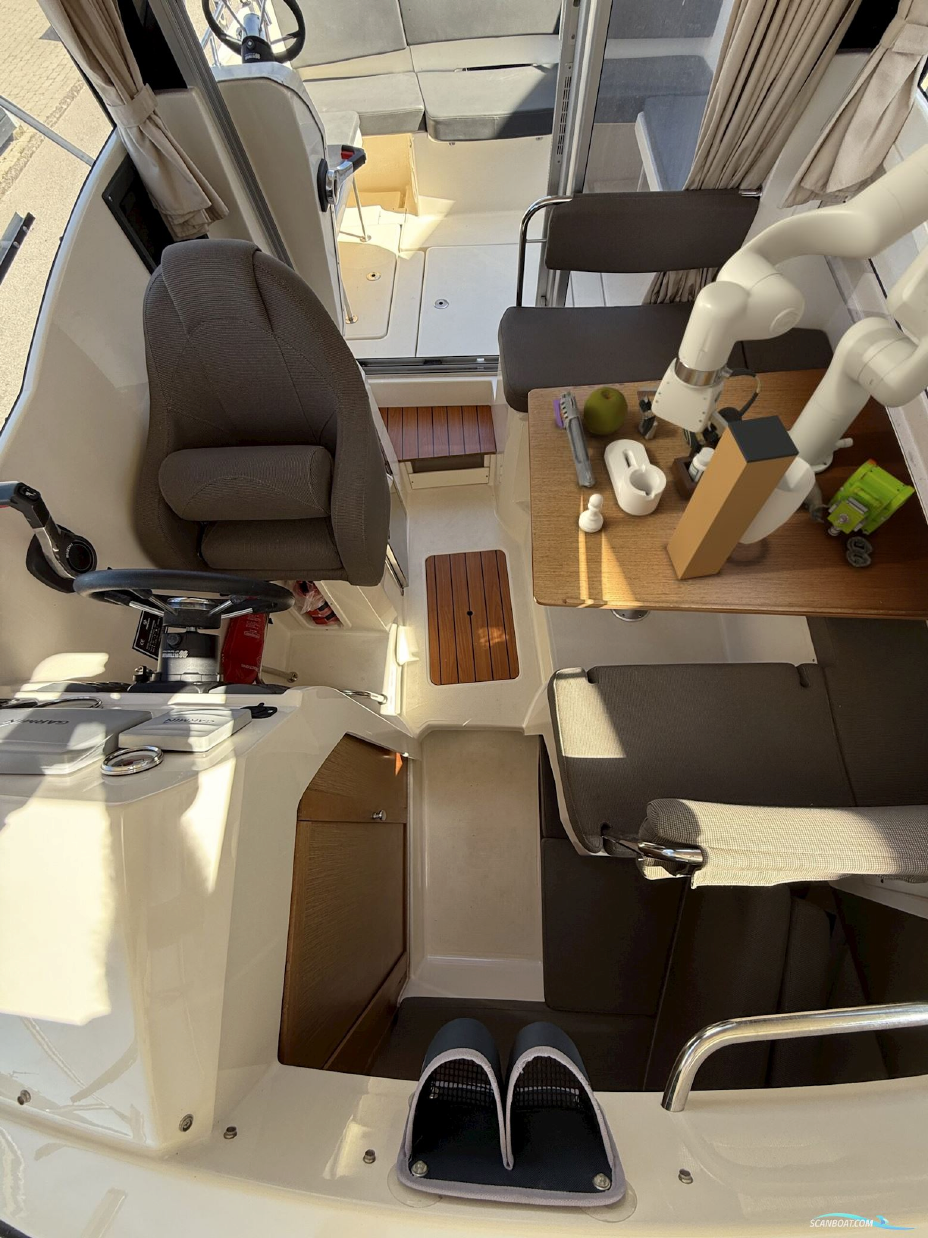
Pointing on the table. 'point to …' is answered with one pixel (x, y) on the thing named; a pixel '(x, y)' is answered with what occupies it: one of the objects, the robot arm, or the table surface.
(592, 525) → the chess pawn
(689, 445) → the headphones
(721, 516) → the black-topped square pillar
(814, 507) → the rhino figurine
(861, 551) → the corroded twin loop
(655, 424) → the grey angled piece
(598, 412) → the apple
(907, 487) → the lime green boxy piece
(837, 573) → the table surface
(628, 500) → the bracket
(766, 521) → the cup
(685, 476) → the holder
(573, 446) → the handgun
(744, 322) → the robot arm
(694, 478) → the pill bottle
